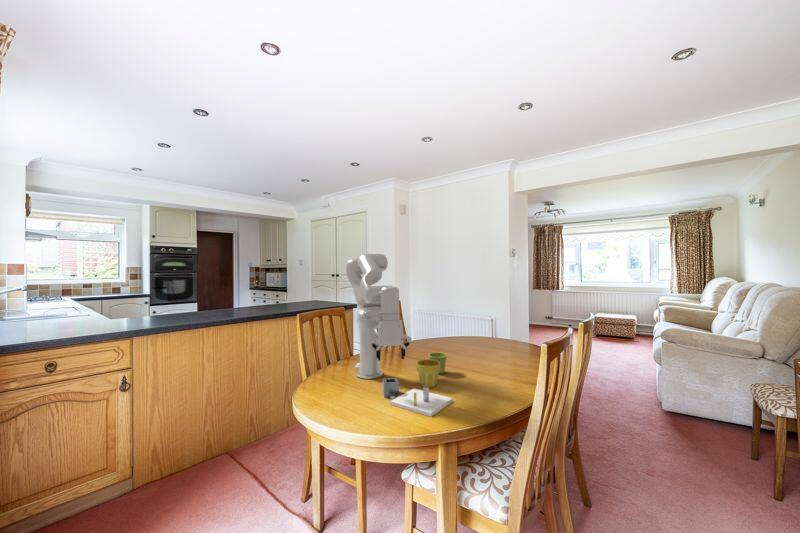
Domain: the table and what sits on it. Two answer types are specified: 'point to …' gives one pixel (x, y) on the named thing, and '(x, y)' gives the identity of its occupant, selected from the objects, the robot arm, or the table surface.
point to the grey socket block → (391, 388)
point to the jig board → (421, 402)
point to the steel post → (426, 394)
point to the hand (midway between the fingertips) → (390, 359)
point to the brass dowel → (415, 399)
